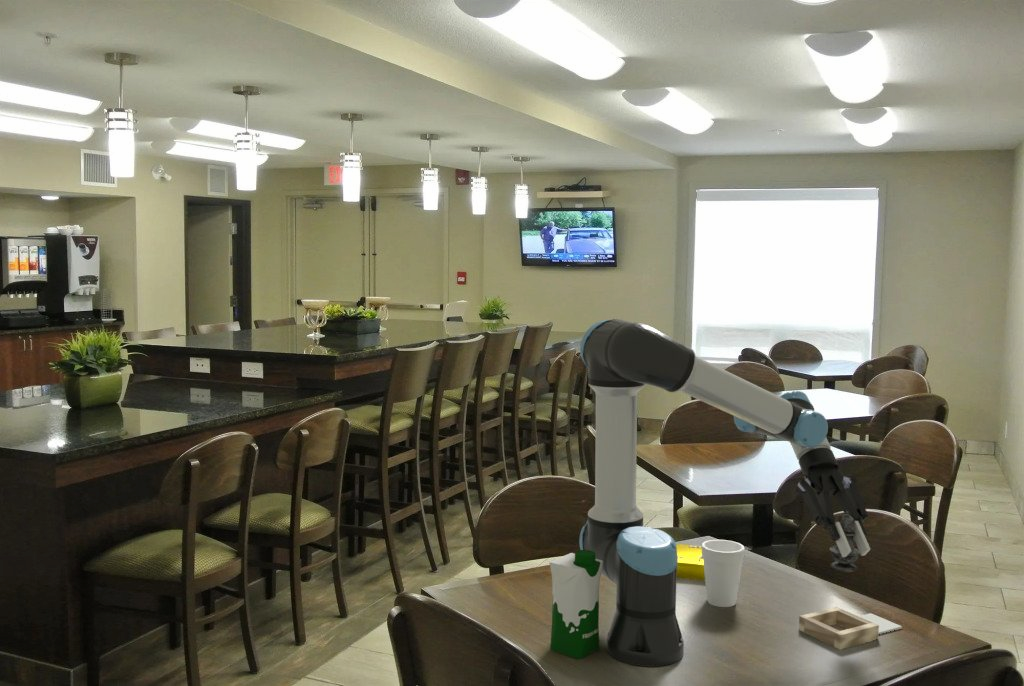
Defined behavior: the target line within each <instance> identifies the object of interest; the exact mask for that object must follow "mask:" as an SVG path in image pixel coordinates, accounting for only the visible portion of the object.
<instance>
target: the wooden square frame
mask: <svg viewBox="0 0 1024 686" xmlns="http://www.w3.org/2000/svg"><path fill="white" fill-rule="evenodd" d="M859 616H860V615H856V614H854V613H852V612H849V611H847V610H845V609H843V608H841V607H838V606H835V607H831V608H827V609H822V610H818V611H814V612H810V613H806V614H801V615H799V617H798V631H800V632H803V633H804V634H806V635H809V636H811V637H813V638H814V639H815V638H816V639H817V640H819V641H821V642H824V643H825V644H827V645H830V646H832V647H834V648H836V649H838V650H839V651H842V650H845V649H848V648H851V647H855V645H856V646H858V644H859V645H862V643H863V644H866V642H867V643H870V642H873V640H874V641H877V640H879V635H878V632H879V625H877V624H875V623H873V622H870V621H868V620H866V619H863V618H861V617H859ZM834 625H838V626H840V627H842V628H844V629H841V630H838V629H837V628H834V627H832V626H834ZM876 639H877V640H876ZM844 648H845V649H844Z"/></svg>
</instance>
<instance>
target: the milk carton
mask: <svg viewBox="0 0 1024 686" xmlns="http://www.w3.org/2000/svg"><path fill="white" fill-rule="evenodd" d="M595 555H596V554H595V552H593V551H590V550H581V549H578V550H576V551H575V552H570V553H568V554H565V555H563V556H560V557H557V558H556V559H554V560H551V561H549V563H548V564H549V567H550V571H551V572H550V573H551V578H552V579H551V581H552V591H551V593H552V598H551V600H552V601H551V602H552V605H551V607H552V608H551V611H552V612H551V616H552V617H551V631H550V632H551V633H550V647H549V649H550V650H552V651H554V652H557V653H559V654H563V655H566V656H569V657H571V658H573V659H574V658H575V659H576V660H580V659H583V658H585V657H586V656H588V655H589V654H591V653H593V652H594V651H597V650H598V649H600V633H599V632H600V631H599V627H600V626H599V618H600V617H599V615H600V614H599V610H600V581H601V576H602V573H601V571H602V566H603V561H602V560H599V559H595Z"/></svg>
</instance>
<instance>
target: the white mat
mask: <svg viewBox="0 0 1024 686" xmlns="http://www.w3.org/2000/svg"><path fill="white" fill-rule="evenodd" d="M858 616H859V617H861V618H863V619H866V620H868V621H870V622H873V623H875V624H877V625H879V632H878V636H880V635H883V634H882V633H884V634H886V632H887V633H890V631H891V632H894V630H895V631H898V630H902V629H903V627H902V625H900V624H897V623H895V622H892V621H890V620H888V619H886V618H883V617H881V616H878V615H876V614H873V613H866V614H862V615H858ZM879 634H880V635H879Z"/></svg>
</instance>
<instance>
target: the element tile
mask: <svg viewBox="0 0 1024 686" xmlns="http://www.w3.org/2000/svg"><path fill="white" fill-rule="evenodd" d="M676 546H677V557H678V564H677V579H683V578H684V580H685V579H686V580H693V579H696V581H703V580H705V573H704V564H703V557H702V545H695V544H694V545H691V544H681V543H676Z"/></svg>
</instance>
